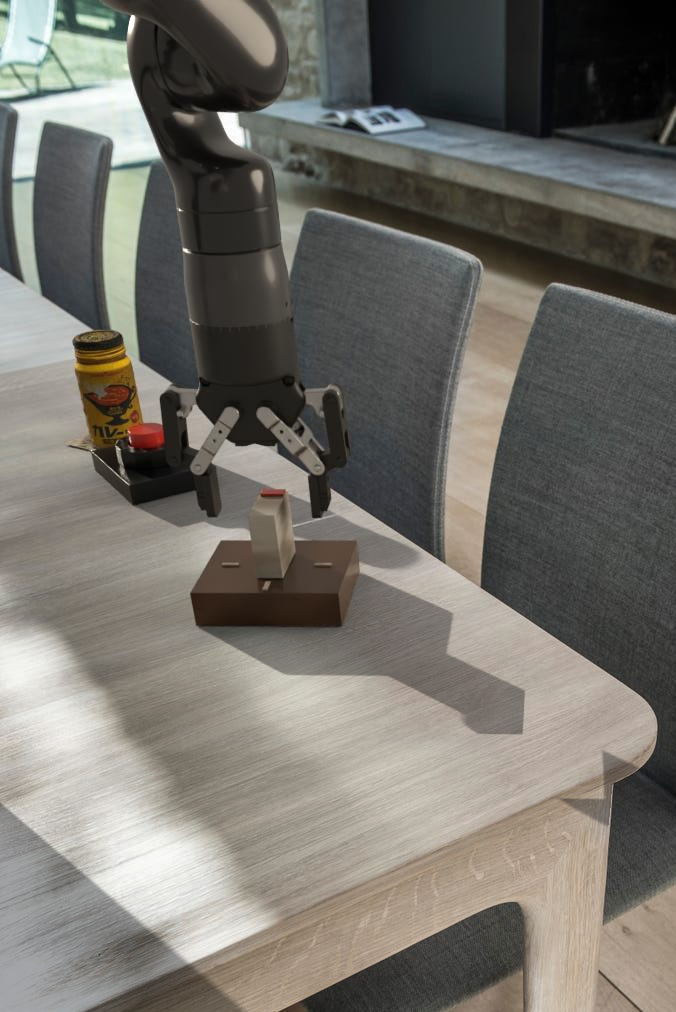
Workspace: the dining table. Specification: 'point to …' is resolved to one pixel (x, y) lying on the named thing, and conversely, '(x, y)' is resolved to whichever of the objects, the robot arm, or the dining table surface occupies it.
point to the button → (146, 435)
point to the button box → (141, 472)
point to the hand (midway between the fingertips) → (267, 514)
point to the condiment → (105, 388)
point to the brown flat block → (277, 586)
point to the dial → (272, 533)
